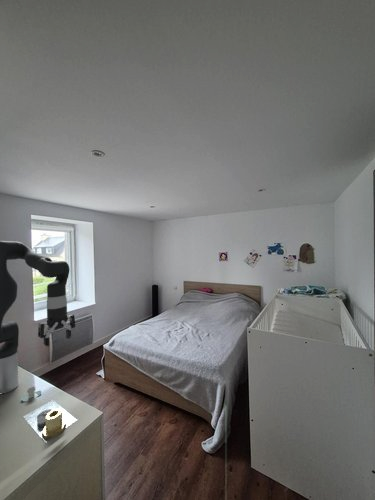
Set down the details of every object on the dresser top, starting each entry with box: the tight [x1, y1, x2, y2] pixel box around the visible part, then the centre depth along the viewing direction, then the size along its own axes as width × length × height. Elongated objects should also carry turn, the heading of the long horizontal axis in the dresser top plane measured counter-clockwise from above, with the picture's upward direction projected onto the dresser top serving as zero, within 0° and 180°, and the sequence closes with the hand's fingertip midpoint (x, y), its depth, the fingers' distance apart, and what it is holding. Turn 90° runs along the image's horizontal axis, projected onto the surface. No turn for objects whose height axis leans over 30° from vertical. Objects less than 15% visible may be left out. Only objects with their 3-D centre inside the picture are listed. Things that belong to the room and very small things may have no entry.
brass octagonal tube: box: [42, 408, 66, 439], centre depth 75 cm, size 7×7×6 cm
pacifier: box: [20, 386, 42, 403], centre depth 94 cm, size 7×6×6 cm
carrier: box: [22, 399, 78, 443], centre depth 81 cm, size 21×11×5 cm, turn 57°
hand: (58, 341), depth 90 cm, fingers open, 8 cm apart
